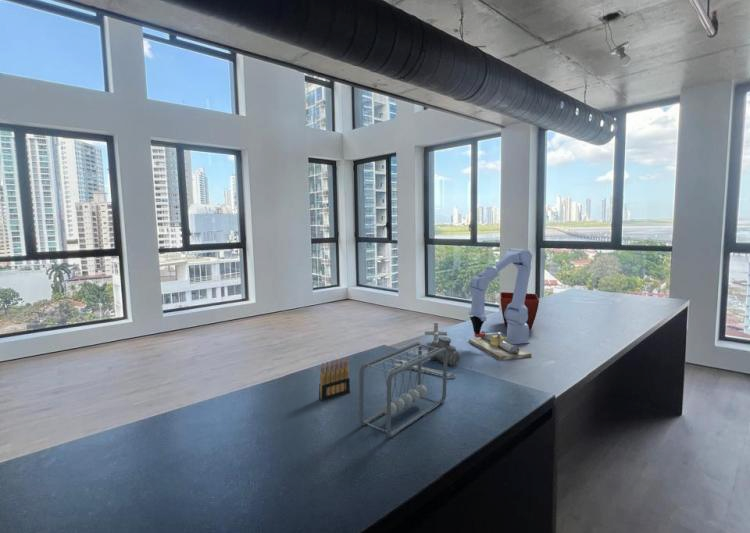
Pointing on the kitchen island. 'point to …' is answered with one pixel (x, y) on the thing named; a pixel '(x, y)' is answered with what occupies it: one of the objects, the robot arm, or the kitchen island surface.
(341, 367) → the ammunition clip
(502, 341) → the valve pipe
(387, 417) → the newton's cradle
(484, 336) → the valve lever
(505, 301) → the plant pot
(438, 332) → the pipe connector
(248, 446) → the kitchen island surface
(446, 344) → the pipe fitting
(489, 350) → the valve board
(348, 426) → the kitchen island surface
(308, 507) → the kitchen island surface
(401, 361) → the adjustable wrench
